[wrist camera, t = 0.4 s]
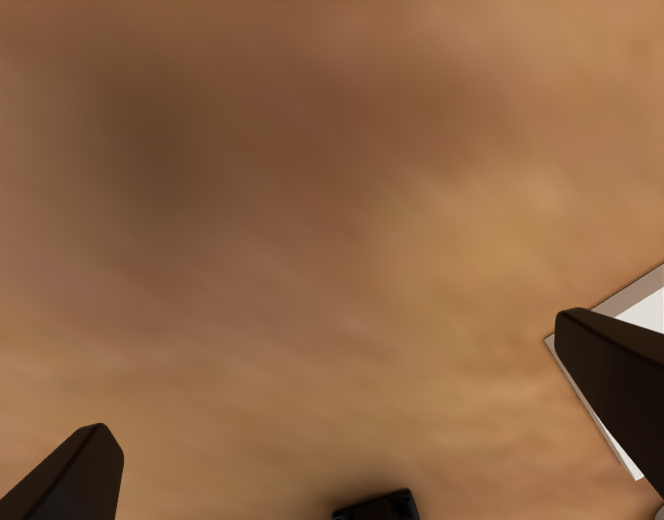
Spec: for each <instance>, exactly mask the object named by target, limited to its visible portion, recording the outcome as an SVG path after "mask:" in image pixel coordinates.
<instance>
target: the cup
mask: <svg viewBox="0 0 664 520" xmlns="http://www.w3.org/2000/svg"><path fill="white" fill-rule="evenodd" d="M655 520H664V505H663V506H662V507H661V508H660V509H659V511H658V512H657V514H656V516H655Z"/></svg>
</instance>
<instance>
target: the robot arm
mask: <svg viewBox="0 0 664 520" xmlns="http://www.w3.org/2000/svg"><path fill="white" fill-rule="evenodd" d="M554 349H555V352H556V354H557V356H558V358H559V359H560V361H561V362H562V364H563V365H564V367H565V368H566V370H567V371H568V373H569V374H570V376H571V378H572V379H573V381H574V382H575V384H576V385H577V387H578V388H579V390H580V391H581V393H582V394H583V396H584V397H585V399H586V400H587V402H588V403H589V405H590V406H591V408H592V409H593V411H594V412H595V414H596V415H597V417H598V418H599V419H600V421H601V422H602V424H603V425H604V426H605V428H606V429H607V430H608V431H609V433H610V434H611V435H612V437H613V438H614V439H615V440H616V442H617V443H618V444H619V445H620V446H621V448H622V449H623V450H624V451H625V453H626V454H627V455H628V456H629V458H630V459H631V460H632V461H633V463H634V464H635V465H636V466H637V467H638V469H639V470H640V471H641V472H642V474H643V475H644V476H645V477H646V479H647V480H648V481H649V482H650V483H651V485H652V486H653V487H654V488H655V490H656V491H657V492H658V493H659V495H660V496H661V497H662V498H663V500H664V334H663V333H660V332H657V331H653V330H650V329H647V328H644V327H641V326H638V325H635V324H631V323H628V322H625V321H622V320H619V319H616V318H613V317H610V316H606V315H603V314H600V313H597V312H594V311H591V310H588V309H584V308H581V307H575V308H571V309H567V310H563V311H560V312H558V313H557V315H556V319H555V333H554ZM123 466H124V454H123V451H122V449H121V447H120V446H119V444H118V442H117V441H116V439H115V438H114V436H113V435H112V433H111V432H110V430H109V428H108V427H107V426H106V425H105V424H103V423H96V424H92V425H88V426H84V427H81V428H79V429H77V430H76V431H75V432H74V433H73V434H72V435H71V436H70V437H68V438H67V439H66V440H65V441H64V442H63V443H62V444H61V445H60V446H59V447H57V448H56V449H55V450H54V451H53V452H52V453H51V454H50V455H49V456H48V457H47V458H45V459H44V460H43V461H42V462H41V463H40V464H39V465H38V466H37V467H36V468H34V469H33V470H32V471H31V472H30V473H29V474H28V475H27V476H26V477H25V478H24V479H22V480H21V481H20V482H19V483H18V484H17V485H16V486H15V487H14V488H13V489H11V490H10V491H9V492H8V493H7V494H6V495H5V496H4V497H3V498H2V499H0V520H115V515H116V509H117V503H118V497H119V491H120V485H121V478H122V472H123ZM332 520H420V517H419V514H418V511H417V508H416V505H415V502H414V499H413V495H412V493H411V491H409V490H404V491H401V492H398V493H395V494H391V495H388V496H385V497H382V498H379V499H375V500H372V501H369V502H366V503H363V504H360V505H356V506H353V507H350V508H347V509H344V510H340V511H337V512H335V513H333V514H332Z"/></svg>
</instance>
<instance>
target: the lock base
mask: <svg viewBox="0 0 664 520" xmlns="http://www.w3.org/2000/svg"><path fill="white" fill-rule="evenodd" d="M591 311H594V312H597V313H600V314H603V315H606V316H610V317H613V318H616V319H619V320H622V321H625V322H628V323H631V324H635V325H638V326H641V327H644V328H647V329H650V330H653V331H657V332H660V333H663V334H664V264H662V265H661V266H659V267H657V268H656V269H654V270H653V271H651V272H650V273H648V274H646V275H645V276H643V277H642V278H640V279H639V280H637V281H635V282H634V283H632V284H631V285H629V286H628V287H626V288H624V289H623V290H621V291H620V292H618V293H617V294H615V295H613V296H612V297H610V298H609V299H607V300H606V301H604V302H602V303H601V304H599V305H598V306H596V307H595V308H593V309H591ZM544 341H545V343H546V344H547V346H548V347H549V349H550V351H551V352H552V354H553V355H554V357H555V359H556V360H557V362H558V364H559V365H560V367H561V368H562V370H563V372H564V373H565V375H566V376H567V378H568V380H569V381H570V383H571V384H572V386H573V388H574V389H575V391H576V392H577V394H578V396H579V397H580V399H581V400H582V402H583V404H584V405H585V407H586V409H587V410H588V412H589V413H590V415H591V417H592V418H593V420H594V421H595V423H596V425H597V426H598V428H599V429H600V431H601V433H602V434H603V436H604V437H605V439H606V441H607V442H608V444H609V446H610V447H611V449H612V450H613V452H614V454H615V455H616V457H617V458H618V460H619V462H620V463H621V465H622V466H623V467H624V468H625V469H626V470H627V471H628V472H629V474H630V475H631V476H632V477H633V478H634V479H635V480H638V479H640V478H642V477H644V475H643V474H642V472H641V471H640V470H639V469H638V467H637V466H636V465H635V464H634V463H633V461H632V460H631V459H630V458H629V456H628V455H627V454H626V453H625V451H624V450H623V449H622V448H621V446H620V445H619V444H618V443H617V442H616V440H615V439H614V438H613V437H612V435H611V434H610V433H609V431H608V430H607V429H606V428H605V426H604V425H603V424H602V422H601V421H600V419H599V418H598V417H597V415H596V414H595V412H594V411H593V409H592V408H591V406H590V405H589V403H588V402H587V400H586V399H585V397H584V396H583V394H582V393H581V391H580V390H579V388H578V387H577V385H576V384H575V382H574V381H573V379H572V378H571V376H570V374H569V373H568V371H567V370H566V368H565V367H564V365H563V364H562V362H561V361H560V359H559V358H558V356H557V354H556V352H555V349H554V334H552V335H551V336H549V337H547V338H546V339H544Z"/></svg>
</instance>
